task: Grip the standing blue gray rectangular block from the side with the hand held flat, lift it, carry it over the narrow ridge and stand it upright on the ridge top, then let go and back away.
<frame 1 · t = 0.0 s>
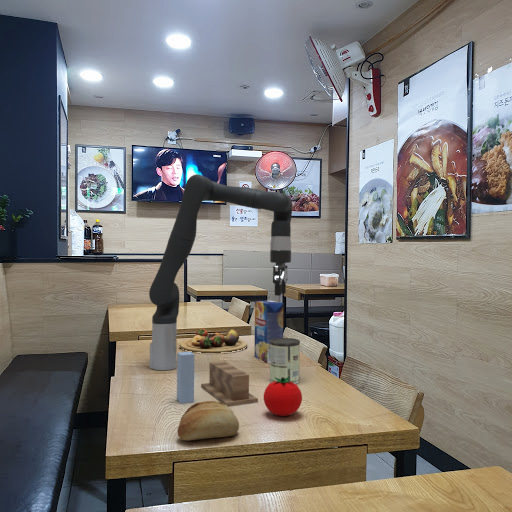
hand: (280, 294, 168), 29 cm above the table, tool pointing down, fingers open, 8 cm apart
bread roll: (208, 437, 111), on the table
wooden plate with food: (213, 348, 221), on the table
juice carton: (268, 359, 195), on the table
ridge: (228, 394, 145), on the table
blue gray rectangular block: (185, 400, 138), on the table
coffee can: (284, 381, 161), on the table
tomato: (282, 415, 126), on the table
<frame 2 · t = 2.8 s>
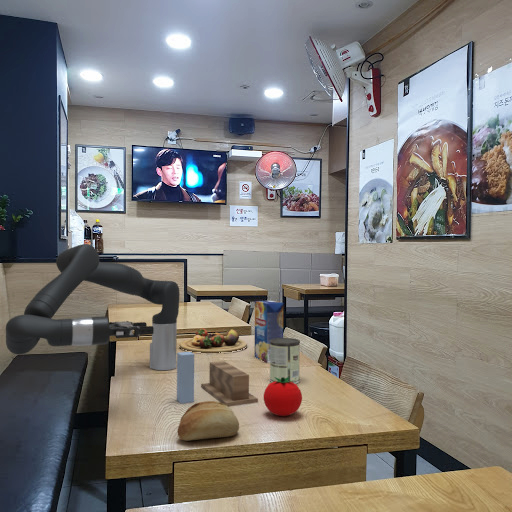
hand: (149, 327, 133), 22 cm above the table, tool horizontal, fingers open, 8 cm apart
nothing on the table moved.
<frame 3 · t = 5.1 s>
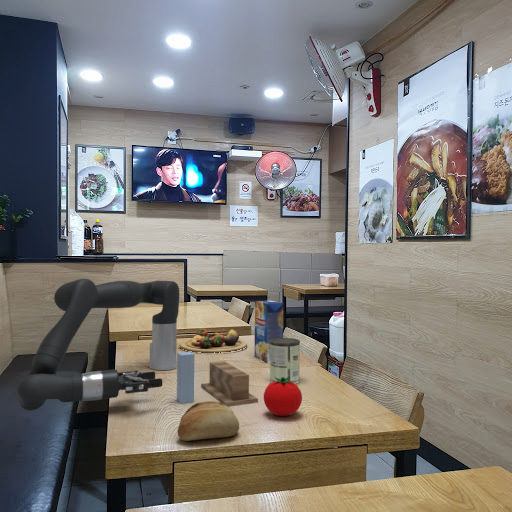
hand: (158, 378, 134), 7 cm above the table, tool horizontal, fingers open, 8 cm apart
nothing on the table moved.
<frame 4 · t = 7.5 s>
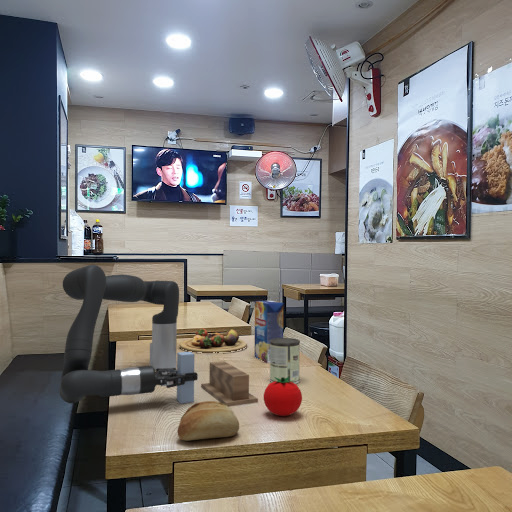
hand: (194, 374, 139), 8 cm above the table, tool horizontal, fingers closed on blue gray rectangular block, 4 cm apart
blue gray rectangular block: (185, 400, 138), on the table, touching gripper
everything else where it was.
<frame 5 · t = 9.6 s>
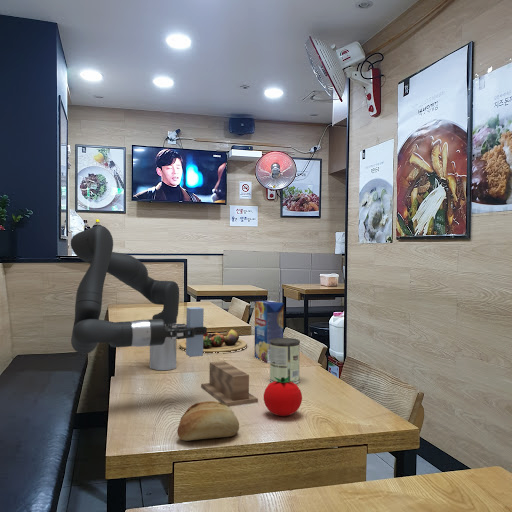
hand: (203, 329, 141), 21 cm above the table, tool horizontal, fingers closed on blue gray rectangular block, 4 cm apart
blue gray rectangular block: (194, 355, 139), point 13 cm above the table, touching gripper
everything else where it was.
when the fingers open (17 cm above the table, at t = 11.7 s): blue gray rectangular block drops 1 cm, resting on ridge.
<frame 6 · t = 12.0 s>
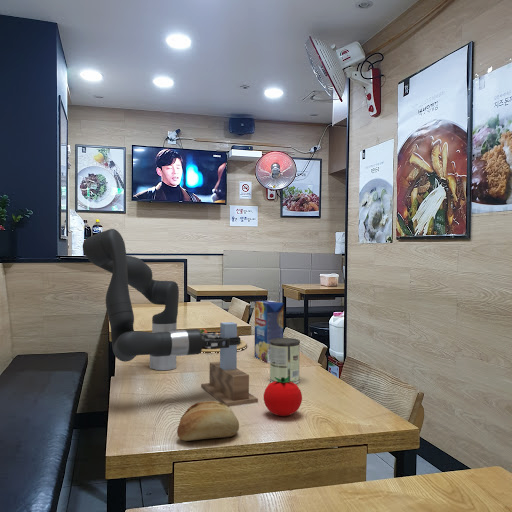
hand: (235, 338, 146), 17 cm above the table, tool horizontal, fingers open, 6 cm apart
blue gray rectangular block: (228, 368, 145), point 8 cm above the table, touching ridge
everything else where it was.
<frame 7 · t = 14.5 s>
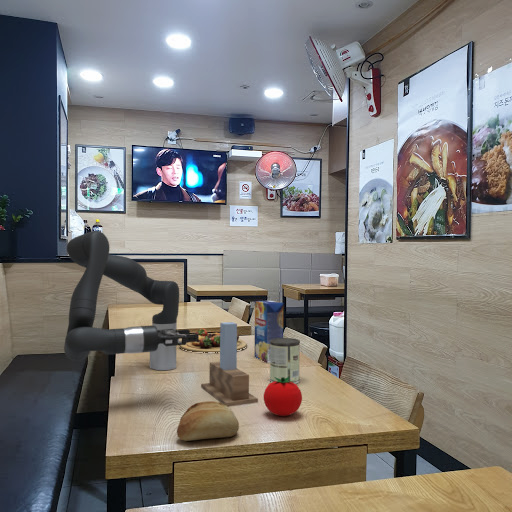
hand: (193, 335, 141), 19 cm above the table, tool horizontal, fingers open, 8 cm apart
nothing on the table moved.
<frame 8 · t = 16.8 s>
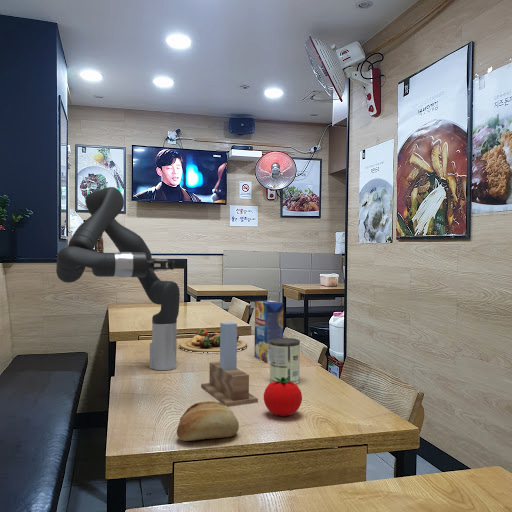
hand: (182, 264, 146), 40 cm above the table, tool horizontal, fingers open, 8 cm apart
nothing on the table moved.
at the end: blue gray rectangular block 0.0 cm from the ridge (horizontally); blue gray rectangular block point 8.0 cm above the table; blue gray rectangular block tilted 0° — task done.
